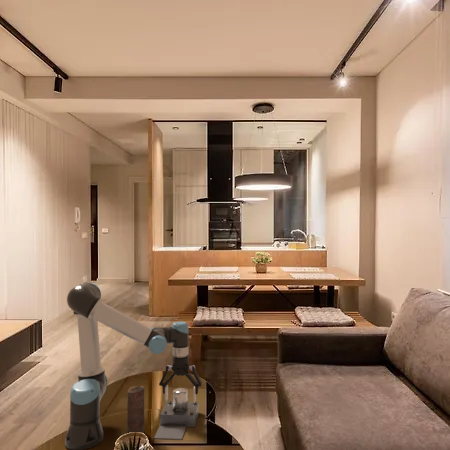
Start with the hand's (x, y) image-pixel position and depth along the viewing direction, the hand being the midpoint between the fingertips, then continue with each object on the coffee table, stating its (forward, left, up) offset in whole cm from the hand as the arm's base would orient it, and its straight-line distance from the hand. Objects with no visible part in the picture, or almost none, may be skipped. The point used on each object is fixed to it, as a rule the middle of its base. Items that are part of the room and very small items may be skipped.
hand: (180, 400), depth 172 cm
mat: (-2, -13, -9) cm, 16 cm away
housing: (0, 0, -8) cm, 8 cm away
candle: (-17, -15, -9) cm, 24 cm away
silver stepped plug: (0, 0, -9) cm, 9 cm away
